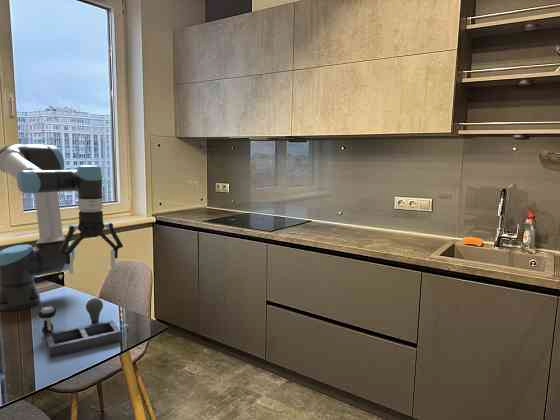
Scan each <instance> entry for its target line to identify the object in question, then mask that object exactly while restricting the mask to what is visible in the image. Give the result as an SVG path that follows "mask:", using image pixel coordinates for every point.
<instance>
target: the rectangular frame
mask: <svg viewBox="0 0 560 420" xmlns="http://www.w3.org/2000/svg"><path fill="white" fill-rule="evenodd" d="M44 338H45V346H46V349H47V352H48V356H49V359H54V358H59V357H62V356H67V355H72V354H74V353H80V352H83V351H88V350H92V349H96V348H101V347H104V346H108V345H113V344H118V343H121V342H122V331H121V330H120V329H119V327H118V325H117V324H116V323H115V322H114V320H111V319H110V320H106V321H101V322H99V323H96V324H92V323H91V324H87V325H83V326H77V327H72V328H68V329H67V328H66V329H63V330H58V331H57V330H56V331H54V332H52V333H47V334H45V336H44Z"/></svg>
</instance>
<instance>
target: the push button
mask: <svg viewBox="0 0 560 420" xmlns="http://www.w3.org/2000/svg"><path fill="white" fill-rule="evenodd" d="M56 312H57V309H56V308H54V306H43V307H41V309H40V310H39V311H37V315H38V317H39V318H40V319H42V320H44V321H43V322H44V323H43V326H42V328H41V333H42V338H43V339H44V338H45V334H47V333H52V332H55V331H54V325H53V324H52V318H53V317H55V316H56V314H57V313H56Z"/></svg>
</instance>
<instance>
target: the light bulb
mask: <svg viewBox="0 0 560 420" xmlns="http://www.w3.org/2000/svg"><path fill="white" fill-rule="evenodd" d="M103 307H104V303H103V300H101V299H100V298H98V297H97V298H96V297H94V298H91V299H89V300H88V301H87V302H86V305H85V309H86V311H87V313H88V315H89V317H90V322H91V324H96V323H100V322H99V320H100V315H101V312H102V310H103Z"/></svg>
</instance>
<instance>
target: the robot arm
mask: <svg viewBox="0 0 560 420" xmlns="http://www.w3.org/2000/svg"><path fill="white" fill-rule="evenodd" d="M0 171H1V172H2V173H4V174H6V175H10V176H12V177H13V178H15V179H16V184H17V188H18V190H19V192H21V193H23V194H34V199H35V200H34V201H35V206H36V217H37V218H36V219H37V227H38V234H39V239H37V241H36V242H35V246H36V247H33V245H31V244H18V245H13V246H9V247H7V248H4V249H2V250H0V311H3V312H13V311H21V310H22V311H23V310H26V309H29V308H32V307H35V306H37V305H38V304H39V303H40V302H41V295H40V293H39V290H38V288H37V287H36V284H35V277H37V276H44V275H49V274H56V273H61V272H65V271H69V273H70V275H73V274H74V261H75V248H76V247H78V245H79V244H80V243H81V242H82V241H83V240H84V238H87V239H88V238H98V237H99V236H100V237H101V238H102V240H103V241H105V242H106V243H107V244H108V245H109V246H110V247H111V248H110V267H111V268H112V269H116V259H118V257H119V256H118V254H119V253H118V251H119V249H122V248H124V245H123V243H122V241H121V240H120V238H119V236H118V235H117V233H116V231H115V229H114V225H113V223H112V222H107V223H104V214H103V213H104V212H103V211H102V209H104V208H103V207H104V206H103V175H102V174H103V173H102V168H101V166H99V165H92V164H91V165H84V164H83V165H79V166H77V169H66V170H65V159H64V155H63V152H61V150H60V149H59V147H57V146H56V145H50V144H33V143H32V144H27V143H26V144H25V143H21V144H20V143H13V144H8V145H6V146H4V147H1V148H0ZM61 192H63V193H65V192H78V193H77V195H78V196H77V198H78V201H77V202H78V210H79V212H78V225H72V224H70V225H68V231H67V234H66V236H64V234H63V226H62V225H63V224H62V216H61V208H60V198H59V193H61ZM105 228H106V230H108V231H109V233H110V234H111V236H112V237H113V240H114V241H115V243H116V244H115V243H114V242H113V241H112V240H110V238H108V236H107V235H106V234H104V232H103V231H104V229H105ZM76 231H79V232H80V233H79V234H78V235H77V237H75V239H74V240H73V241H72V243H71V242H70V241H71V239H72V238H73V235H74V233H76Z"/></svg>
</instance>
